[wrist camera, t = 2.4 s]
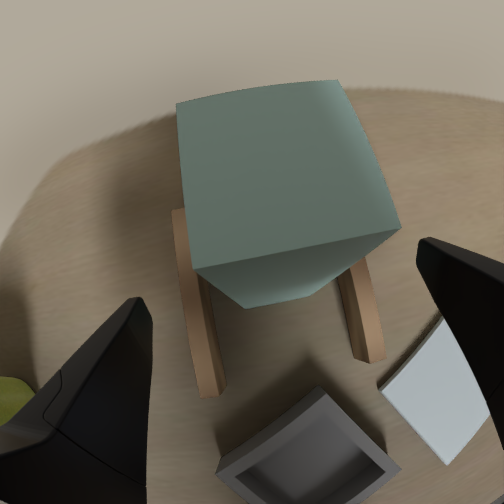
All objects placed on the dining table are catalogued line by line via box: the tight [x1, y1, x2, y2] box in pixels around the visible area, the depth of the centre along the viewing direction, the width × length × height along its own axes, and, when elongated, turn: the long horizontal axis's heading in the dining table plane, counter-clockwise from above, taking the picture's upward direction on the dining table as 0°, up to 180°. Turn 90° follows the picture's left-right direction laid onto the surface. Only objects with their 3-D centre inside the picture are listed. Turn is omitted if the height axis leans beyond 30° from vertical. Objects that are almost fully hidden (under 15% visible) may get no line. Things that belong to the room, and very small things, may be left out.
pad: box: [378, 316, 490, 465], centre depth 15 cm, size 10×10×1 cm
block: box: [176, 80, 402, 309], centre depth 12 cm, size 4×4×13 cm
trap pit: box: [215, 385, 402, 504], centre depth 14 cm, size 8×8×2 cm
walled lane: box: [171, 207, 387, 399], centre depth 16 cm, size 10×10×3 cm
